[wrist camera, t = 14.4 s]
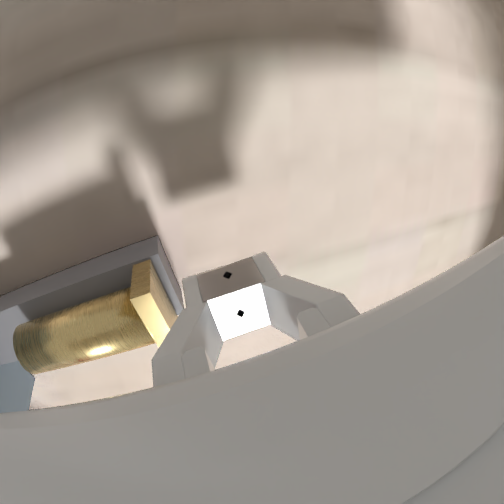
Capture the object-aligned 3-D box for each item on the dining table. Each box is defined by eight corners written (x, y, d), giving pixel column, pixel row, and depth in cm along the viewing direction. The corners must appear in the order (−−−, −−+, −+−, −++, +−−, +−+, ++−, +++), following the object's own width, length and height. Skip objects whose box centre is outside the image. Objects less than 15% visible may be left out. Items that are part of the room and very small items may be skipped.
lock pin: (150, 257, 10) (150, 294, 8) (178, 316, 12) (184, 355, 10) (16, 306, 9) (1, 342, 8) (52, 353, 11) (45, 389, 9)
